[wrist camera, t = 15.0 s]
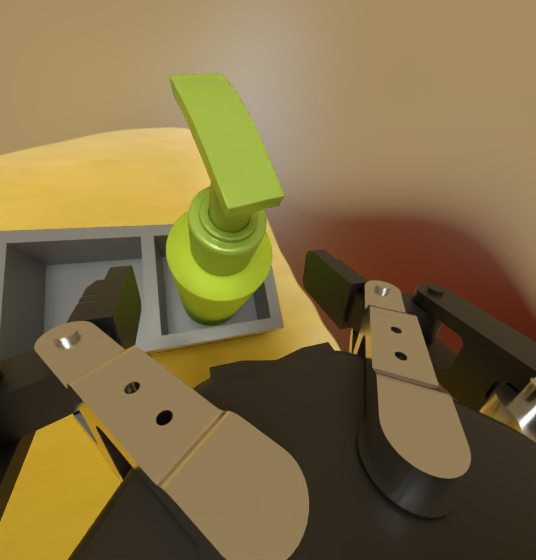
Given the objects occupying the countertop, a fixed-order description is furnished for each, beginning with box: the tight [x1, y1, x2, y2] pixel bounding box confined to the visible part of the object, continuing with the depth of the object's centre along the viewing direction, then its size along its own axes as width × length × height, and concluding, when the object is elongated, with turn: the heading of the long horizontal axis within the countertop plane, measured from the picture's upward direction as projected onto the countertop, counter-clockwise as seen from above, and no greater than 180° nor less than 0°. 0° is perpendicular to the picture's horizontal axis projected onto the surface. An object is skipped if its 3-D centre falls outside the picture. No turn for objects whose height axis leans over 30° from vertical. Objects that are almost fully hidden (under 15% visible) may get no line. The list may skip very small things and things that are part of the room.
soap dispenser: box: [166, 73, 284, 326], centre depth 17 cm, size 6×7×20 cm
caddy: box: [0, 224, 283, 361], centre depth 23 cm, size 21×10×6 cm, turn 101°
